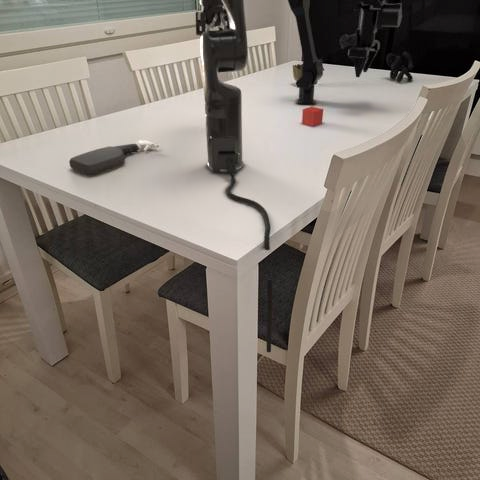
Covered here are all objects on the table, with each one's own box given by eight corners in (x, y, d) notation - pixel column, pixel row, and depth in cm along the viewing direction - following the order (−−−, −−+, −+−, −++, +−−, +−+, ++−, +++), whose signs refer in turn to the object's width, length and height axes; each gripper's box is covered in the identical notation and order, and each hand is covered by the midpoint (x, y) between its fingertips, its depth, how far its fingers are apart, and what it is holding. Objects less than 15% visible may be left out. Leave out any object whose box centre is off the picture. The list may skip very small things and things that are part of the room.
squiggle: (400, 92, 202) (376, 71, 205) (417, 76, 202) (392, 56, 205) (405, 81, 191) (380, 59, 194) (423, 64, 191) (397, 42, 194)
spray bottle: (67, 168, 120) (139, 144, 136) (91, 178, 114) (163, 151, 130) (65, 157, 118) (137, 134, 134) (89, 167, 112) (162, 142, 128)
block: (310, 120, 153) (311, 106, 150) (322, 123, 150) (323, 109, 147) (301, 123, 150) (302, 109, 147) (313, 126, 147) (314, 112, 144)
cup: (289, 85, 195) (289, 66, 191) (295, 82, 200) (296, 63, 196) (305, 87, 192) (306, 67, 188) (311, 83, 197) (312, 64, 193)
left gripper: (215, -15, 132) (217, 44, 140) (185, -13, 121) (190, 51, 130) (237, -15, 128) (238, 46, 137) (208, -12, 118) (211, 53, 127)
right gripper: (351, 21, 159) (347, 67, 167) (335, 28, 145) (330, 77, 154) (383, 23, 155) (376, 70, 163) (369, 29, 141) (362, 80, 149)
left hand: (214, 48), depth 133 cm, fingers open, 8 cm apart
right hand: (361, 74), depth 157 cm, fingers open, 9 cm apart
